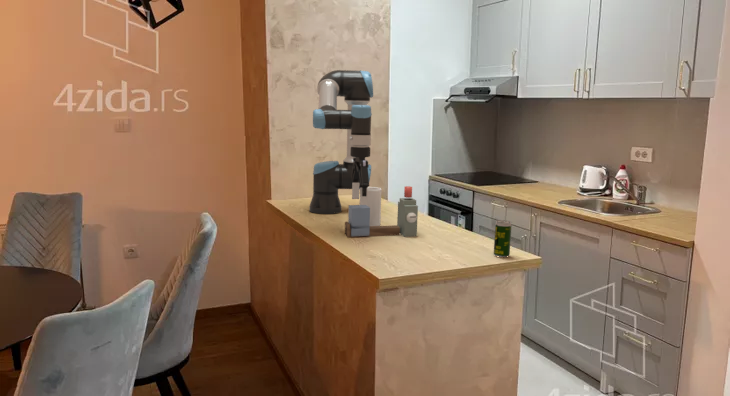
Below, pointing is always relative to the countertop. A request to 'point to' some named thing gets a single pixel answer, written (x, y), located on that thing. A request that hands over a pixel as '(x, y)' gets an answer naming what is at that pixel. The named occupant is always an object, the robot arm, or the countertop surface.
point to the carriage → (359, 220)
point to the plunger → (408, 192)
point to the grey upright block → (407, 217)
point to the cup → (374, 205)
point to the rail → (376, 230)
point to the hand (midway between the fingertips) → (359, 201)
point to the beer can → (502, 238)
